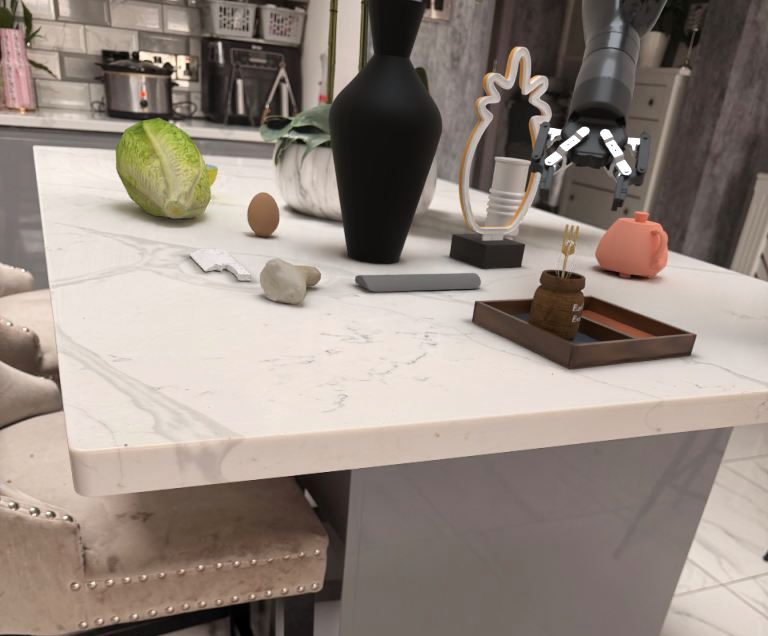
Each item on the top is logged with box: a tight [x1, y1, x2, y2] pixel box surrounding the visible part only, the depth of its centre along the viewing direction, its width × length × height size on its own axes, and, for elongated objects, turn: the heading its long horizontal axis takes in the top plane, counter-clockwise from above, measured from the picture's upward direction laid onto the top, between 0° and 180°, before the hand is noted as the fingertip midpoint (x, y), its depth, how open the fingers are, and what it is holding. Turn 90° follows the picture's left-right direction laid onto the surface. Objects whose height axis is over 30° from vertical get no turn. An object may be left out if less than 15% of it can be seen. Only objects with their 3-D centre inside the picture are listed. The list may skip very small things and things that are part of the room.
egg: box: [246, 191, 281, 237], centre depth 128 cm, size 5×5×7 cm
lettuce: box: [115, 117, 212, 219], centre depth 134 cm, size 15×25×16 cm
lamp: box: [449, 46, 553, 270], centre depth 123 cm, size 17×9×32 cm, turn 125°
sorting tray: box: [471, 294, 698, 370], centre depth 93 cm, size 20×18×3 cm
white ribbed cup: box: [483, 156, 531, 241], centre depth 145 cm, size 7×7×15 cm
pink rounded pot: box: [594, 211, 669, 279], centre depth 132 cm, size 12×14×10 cm
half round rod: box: [354, 272, 482, 293], centre depth 109 cm, size 4×20×2 cm, turn 120°
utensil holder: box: [528, 224, 586, 340], centre depth 88 cm, size 6×6×12 cm
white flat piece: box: [188, 247, 252, 281], centre depth 106 cm, size 5×15×1 cm, turn 24°
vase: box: [327, 0, 443, 265], centre depth 115 cm, size 17×17×35 cm
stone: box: [259, 257, 322, 305], centre depth 97 cm, size 11×6×5 cm, turn 173°
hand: (580, 202), depth 94 cm, fingers open, 8 cm apart
